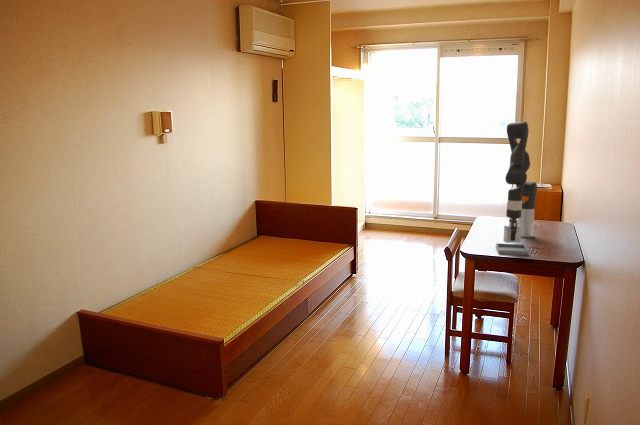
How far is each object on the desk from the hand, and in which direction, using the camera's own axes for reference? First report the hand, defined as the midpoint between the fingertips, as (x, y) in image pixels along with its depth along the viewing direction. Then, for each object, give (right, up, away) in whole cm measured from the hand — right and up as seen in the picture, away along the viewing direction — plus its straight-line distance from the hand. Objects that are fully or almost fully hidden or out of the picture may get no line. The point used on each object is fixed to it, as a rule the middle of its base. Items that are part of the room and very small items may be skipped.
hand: (512, 239), depth 285 cm
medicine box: (0, -2, 0) cm, 2 cm away
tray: (0, -7, +1) cm, 7 cm away
